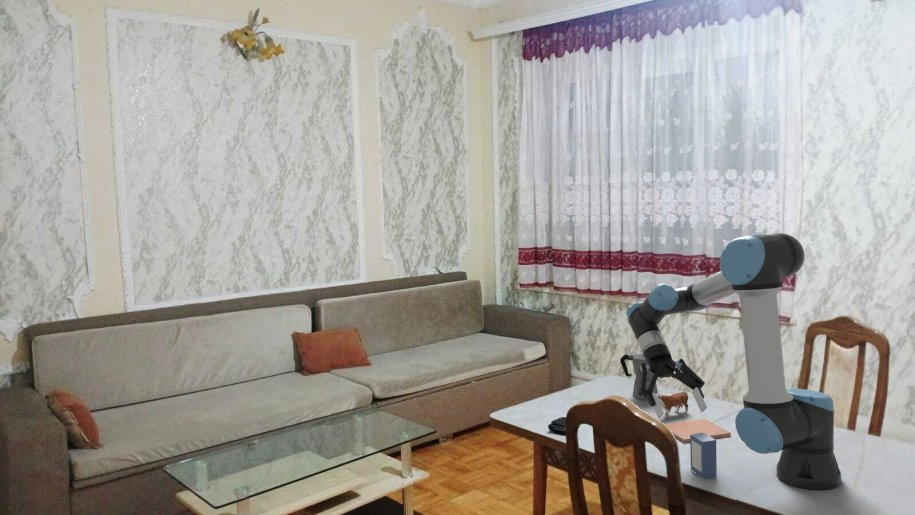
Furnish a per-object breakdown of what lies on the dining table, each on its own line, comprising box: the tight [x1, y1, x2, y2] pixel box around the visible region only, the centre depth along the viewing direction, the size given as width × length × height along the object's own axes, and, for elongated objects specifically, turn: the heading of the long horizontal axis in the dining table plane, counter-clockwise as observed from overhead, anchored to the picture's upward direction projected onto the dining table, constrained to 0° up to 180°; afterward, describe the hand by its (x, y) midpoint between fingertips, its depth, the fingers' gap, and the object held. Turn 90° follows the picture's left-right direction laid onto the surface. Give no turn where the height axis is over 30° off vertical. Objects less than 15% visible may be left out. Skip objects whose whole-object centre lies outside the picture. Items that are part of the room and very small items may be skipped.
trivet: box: [665, 418, 732, 444], centre depth 219 cm, size 14×16×1 cm
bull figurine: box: [656, 391, 689, 418], centre depth 236 cm, size 4×13×8 cm, turn 107°
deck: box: [689, 433, 718, 479], centre depth 188 cm, size 6×4×10 cm
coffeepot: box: [619, 352, 659, 401], centre depth 257 cm, size 15×9×18 cm, turn 75°
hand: (682, 412), depth 197 cm, fingers open, 13 cm apart
